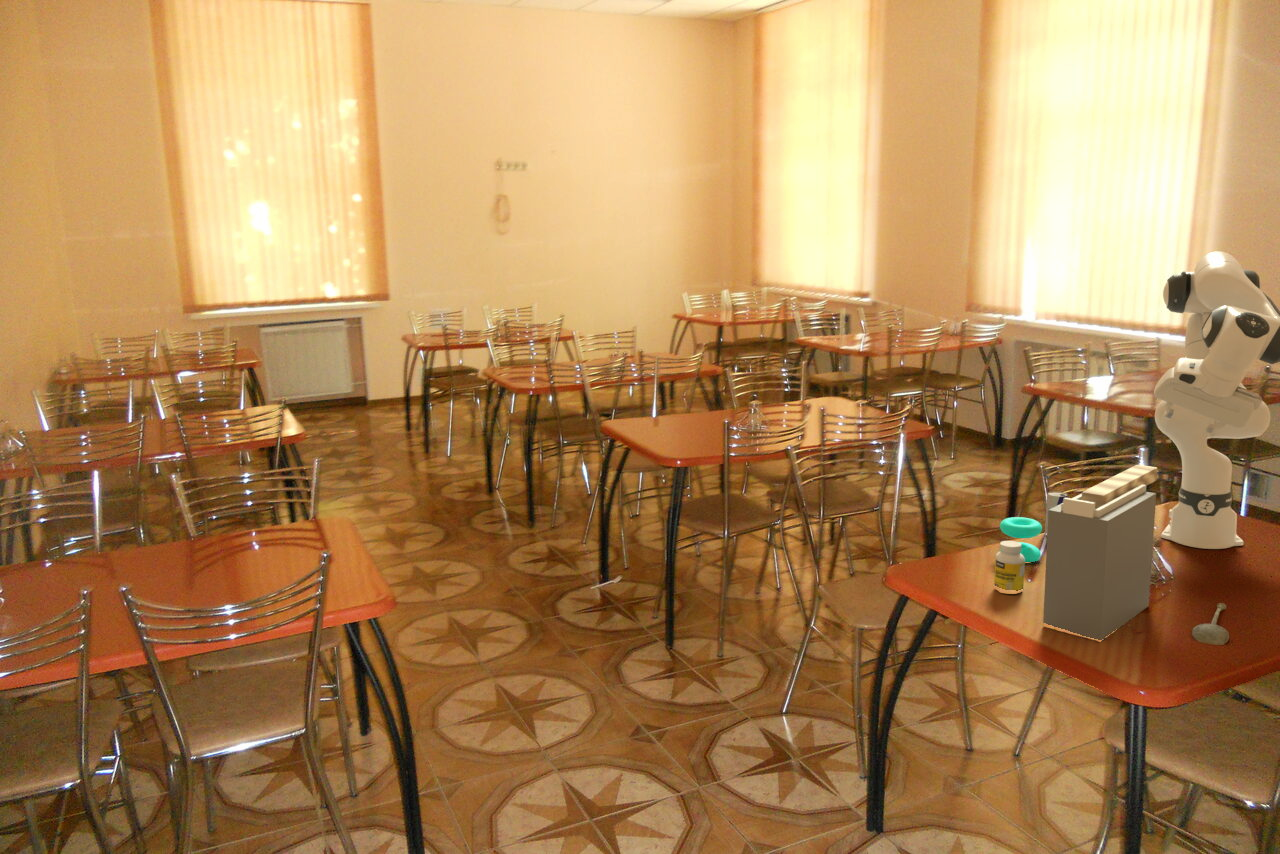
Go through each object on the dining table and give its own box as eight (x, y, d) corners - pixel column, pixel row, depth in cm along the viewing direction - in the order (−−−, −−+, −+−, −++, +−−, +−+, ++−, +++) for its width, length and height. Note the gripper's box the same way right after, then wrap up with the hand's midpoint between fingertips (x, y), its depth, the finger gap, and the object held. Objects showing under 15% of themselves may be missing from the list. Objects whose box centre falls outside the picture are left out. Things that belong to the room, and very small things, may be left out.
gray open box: (1093, 593, 225) (1100, 471, 219) (1148, 606, 216) (1157, 479, 210) (1043, 627, 207) (1049, 496, 201) (1100, 642, 199) (1108, 506, 193)
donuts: (1049, 521, 246) (1029, 529, 240) (1048, 558, 248) (1027, 568, 242) (1013, 513, 254) (992, 521, 248) (1011, 549, 256) (991, 559, 250)
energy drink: (1068, 539, 262) (1070, 496, 259) (1047, 539, 263) (1049, 496, 261) (1063, 533, 267) (1065, 491, 265) (1043, 533, 268) (1045, 491, 266)
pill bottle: (987, 589, 229) (989, 542, 227) (1007, 583, 232) (1009, 537, 230) (1009, 598, 224) (1011, 550, 221) (1029, 592, 227) (1031, 544, 224)
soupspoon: (1188, 645, 198) (1225, 654, 195) (1190, 630, 198) (1227, 638, 194) (1205, 606, 215) (1239, 613, 211) (1206, 592, 214) (1241, 599, 211)
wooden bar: (1136, 477, 224) (1137, 464, 223) (1156, 480, 221) (1157, 467, 220) (1081, 505, 204) (1081, 492, 203) (1102, 509, 201) (1103, 495, 200)
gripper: (1267, 388, 217) (1235, 433, 226) (1172, 355, 223) (1145, 400, 232) (1265, 404, 212) (1233, 449, 222) (1168, 369, 219) (1141, 414, 228)
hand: (1187, 424), depth 227 cm, fingers open, 8 cm apart
